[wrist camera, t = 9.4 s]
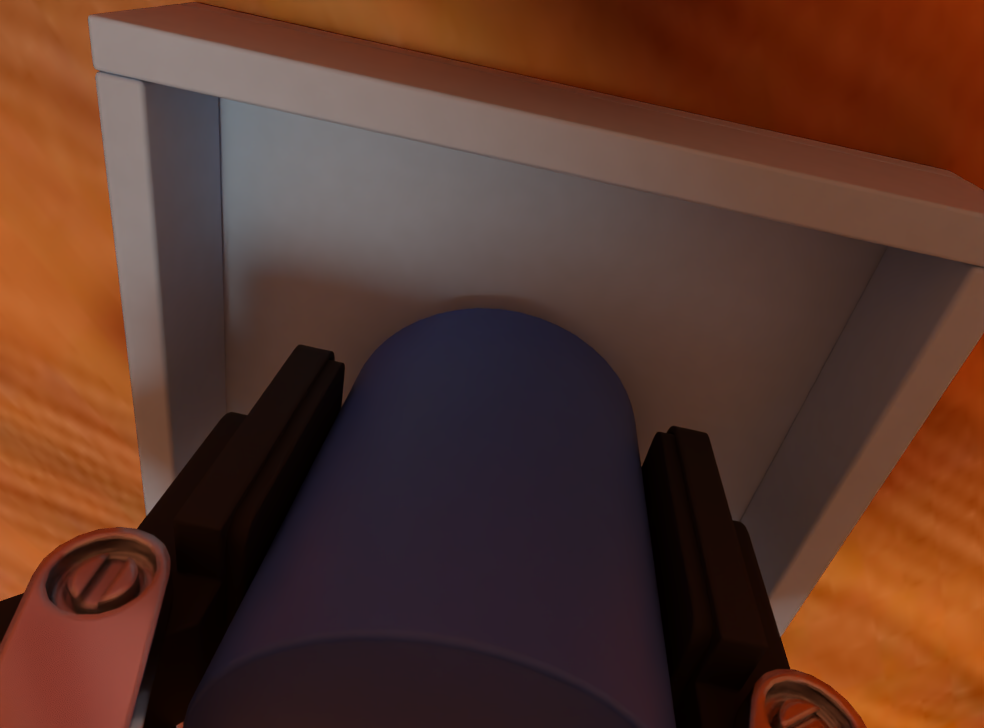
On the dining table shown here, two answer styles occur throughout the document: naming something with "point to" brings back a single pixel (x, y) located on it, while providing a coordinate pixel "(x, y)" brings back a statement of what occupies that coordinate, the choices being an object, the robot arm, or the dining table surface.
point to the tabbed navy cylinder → (459, 550)
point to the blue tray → (528, 253)
